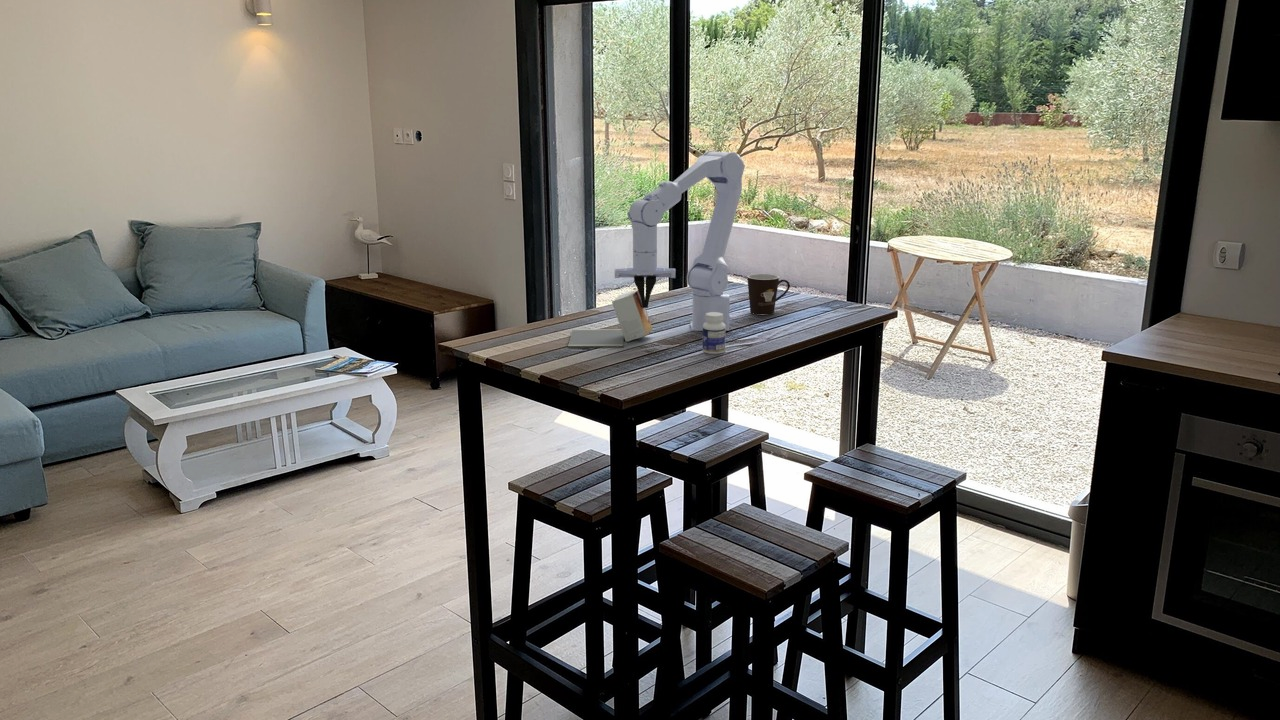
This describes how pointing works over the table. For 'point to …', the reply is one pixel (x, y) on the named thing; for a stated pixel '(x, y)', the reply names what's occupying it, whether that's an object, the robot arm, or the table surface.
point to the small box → (632, 315)
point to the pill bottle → (714, 333)
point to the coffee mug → (764, 292)
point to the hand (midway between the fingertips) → (645, 307)
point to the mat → (596, 338)
